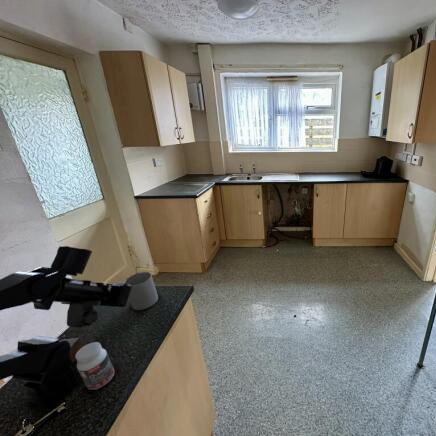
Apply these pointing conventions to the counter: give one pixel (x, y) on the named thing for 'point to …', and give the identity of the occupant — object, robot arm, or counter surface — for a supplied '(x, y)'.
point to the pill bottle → (94, 365)
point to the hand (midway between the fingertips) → (119, 296)
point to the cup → (142, 290)
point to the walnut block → (74, 347)
